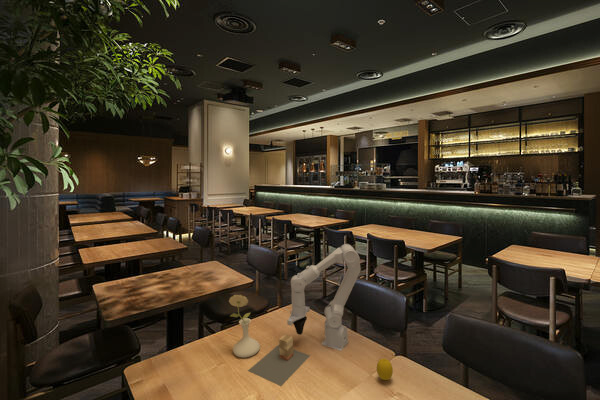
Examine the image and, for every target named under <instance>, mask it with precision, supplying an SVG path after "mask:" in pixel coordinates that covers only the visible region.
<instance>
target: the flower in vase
mask: <svg viewBox="0 0 600 400" xmlns="http://www.w3.org/2000/svg"><path fill="white" fill-rule="evenodd" d="M228 302H229V304H230V305H231V306H234V307H237V313H234V312H233V313H232V314H230V315H229V317H231V318H232V317H234V318H238V317H240V319H239V321H238V323H239V324H240V325H241V328H242V338H241V339H239V340H238V341H237V342H236V343H235V344H234V346H233V348H232V352H233V354H234V355H235V356H236V357H239V358H249V357H252V356H254V355H256V354H257V353H258V352H259V350H260V348H261V345H260V343H259V341H257V340H256V339H254V338H253V337H251V336H250V335H249V326H250V324H251V322H252V319H250V318H248V317H249V316H250V315H251V312H247V313H245V314H244V315H243V316H241V315H240V311H239V310H240V308H242V307H245V306H247V305H248V303H249V299H248V297H246V296H245V295H242V294H234V295H233V296H231V297H229V300H228Z"/></svg>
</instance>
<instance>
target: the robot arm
mask: <svg viewBox="0 0 600 400" xmlns="http://www.w3.org/2000/svg"><path fill="white" fill-rule="evenodd" d="M360 260H361V259H360V256H359V254H358V251H356V250H355V248H354V247H353V246H352V245H351V244H349V243H344V244H342V245H341V246H339V247H337V248H336V249H335V250H334V251H332V253H330V254H329V255H327V256H326V257H325V258H324V259H322V260H321V261H319V262H318V263H317V264H316V265H313V264H311V265H306V267H305V269H304V270H302V271H301V272H298V273H297V275H296V274H295V275H293V276H292V277H291V279H290V288H291V289H290V291H291V295H290V296H291V311H290V315H289V318H288V319H287V321H286V323H287V326H291V327H292V326H294V329H295V332H296V334H297V335H300V336H301V335H302V334H303V332H304V328H305V324H306V321H307V319H308V316H307V313H309V312H310V306H306V297H305V289H306V286H308V285H309V284H310V283H312V282H313V281H315V280H316V279H318V278H320V275H321V274H320V273H322V272H323V271H324V270H326V269H328V268H329V267H331V266H332V265H334V264H335V263H336V264H337V263H338V264H344V263H345V264H346V266H347V269H346V272H345V273H344V276H343V278H342V280H341V282H340V285H339V287H338V289H337V291H336V293H335V296H334V298H333V299H332V300H330V301H329V304H328V305H327V306H325V308H324V310H323V311H324V312H323V313H324V316H325V321H324V340H323V341H322V342H321V345H322V346H325V347H329V348H331V349H334V350H337V351H339V352H341V351H343V349H344V348H345V347H346V345H348V343H349V339H348V338H349V337H348V335H349V333H348V327H347V326H345V325H343V324H342V322H343V321H342V320H343V319H342V317H343V316H344V308H345V305H346V303H347V301H348V299H349V296H350V294H351V292H352V290H353V287H354V286H355V284H356V282H357V279H358V277H359V275H360V273H361V271H362V270H361V263H360V262H361V261H360Z"/></svg>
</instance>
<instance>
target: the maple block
mask: <svg viewBox="0 0 600 400" xmlns="http://www.w3.org/2000/svg"><path fill="white" fill-rule="evenodd" d="M278 345H279V350H280V358H282V359H284V360H287V361H288V360H289V359H290V358H291V357H292V356H293V349H294V338H293V336H291V335H288V334H283V335H282V336H281V337H280V338H279V339H278Z"/></svg>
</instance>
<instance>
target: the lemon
mask: <svg viewBox="0 0 600 400" xmlns="http://www.w3.org/2000/svg"><path fill="white" fill-rule="evenodd" d="M376 364H377V365H376V372H377V376H378V377H379V378H380V379H381V380H383V381H389V380H390V379H391V378H392V376H393V372H394V370H393V365H392V363H391V361H390V360H388V359H387V358H380V359H379V360H378V361H377V363H376Z"/></svg>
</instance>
